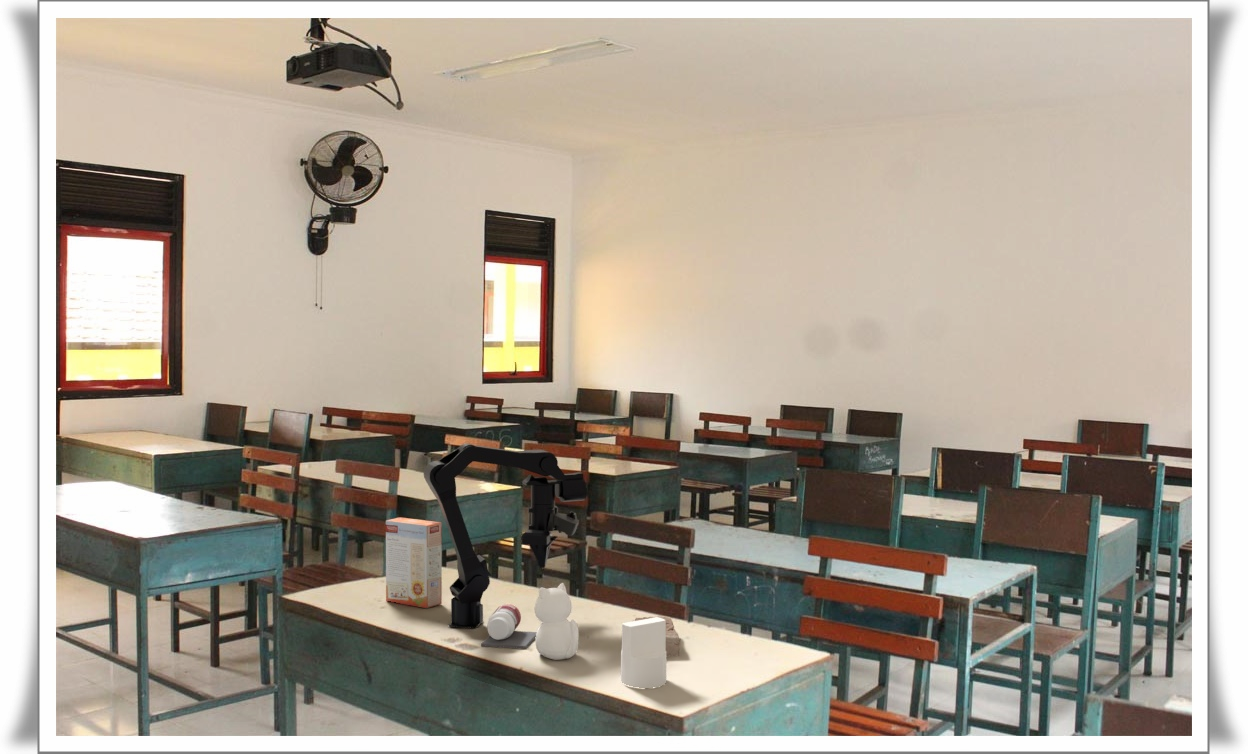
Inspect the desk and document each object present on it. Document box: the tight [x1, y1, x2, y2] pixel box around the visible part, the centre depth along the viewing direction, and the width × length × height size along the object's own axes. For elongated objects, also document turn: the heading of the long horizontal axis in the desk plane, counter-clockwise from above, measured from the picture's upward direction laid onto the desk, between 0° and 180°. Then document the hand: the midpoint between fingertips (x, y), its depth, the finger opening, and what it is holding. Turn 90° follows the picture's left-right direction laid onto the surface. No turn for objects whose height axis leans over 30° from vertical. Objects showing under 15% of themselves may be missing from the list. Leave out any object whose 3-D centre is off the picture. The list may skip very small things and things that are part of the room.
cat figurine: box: [534, 582, 579, 661], centre depth 239 cm, size 9×12×15 cm
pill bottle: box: [486, 603, 522, 640], centre depth 252 cm, size 6×6×11 cm
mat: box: [480, 630, 537, 650], centre depth 251 cm, size 10×11×1 cm
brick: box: [634, 615, 680, 657], centre depth 248 cm, size 17×8×5 cm, turn 5°
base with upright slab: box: [620, 616, 667, 689], centre depth 223 cm, size 9×9×12 cm
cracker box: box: [385, 517, 443, 609], centre depth 283 cm, size 14×6×21 cm, turn 58°
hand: (542, 567), depth 270 cm, fingers closed
